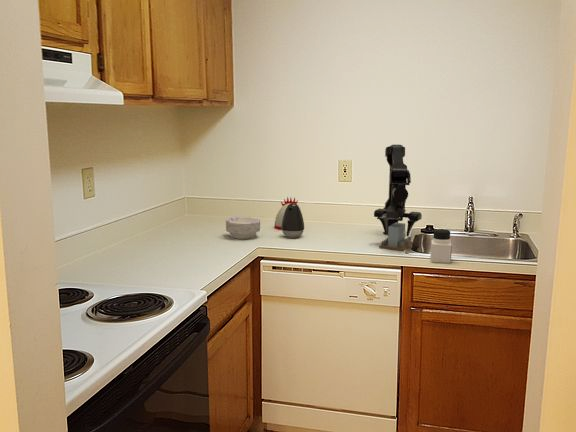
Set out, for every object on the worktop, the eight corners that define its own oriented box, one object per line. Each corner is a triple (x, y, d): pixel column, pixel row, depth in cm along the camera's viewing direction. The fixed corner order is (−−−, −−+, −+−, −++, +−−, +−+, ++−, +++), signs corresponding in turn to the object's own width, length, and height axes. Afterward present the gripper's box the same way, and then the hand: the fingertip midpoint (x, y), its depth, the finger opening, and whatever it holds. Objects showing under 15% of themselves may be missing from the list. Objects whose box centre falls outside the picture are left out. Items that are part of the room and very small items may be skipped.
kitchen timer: (303, 231, 275) (303, 199, 272) (274, 230, 275) (274, 199, 272) (303, 225, 289) (303, 194, 286) (275, 224, 289) (275, 194, 286)
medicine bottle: (450, 263, 218) (452, 231, 216) (431, 262, 220) (432, 231, 218) (449, 258, 225) (451, 228, 223) (430, 257, 227) (431, 227, 224)
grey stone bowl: (260, 240, 254) (260, 222, 253) (225, 240, 253) (225, 222, 252) (260, 233, 269) (260, 216, 268) (226, 233, 268) (226, 216, 267)
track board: (390, 241, 254) (390, 234, 253) (413, 244, 249) (413, 237, 248) (379, 248, 242) (379, 241, 241) (402, 251, 237) (403, 243, 236)
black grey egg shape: (277, 238, 259) (277, 204, 256) (286, 233, 269) (286, 200, 266) (299, 240, 255) (299, 205, 253) (307, 235, 265) (307, 202, 262)
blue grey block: (395, 241, 250) (396, 222, 249) (404, 242, 249) (405, 223, 247) (387, 245, 242) (388, 226, 240) (397, 246, 240) (398, 227, 238)
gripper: (369, 198, 239) (368, 236, 242) (414, 202, 230) (413, 241, 233) (379, 195, 249) (377, 231, 251) (422, 198, 240) (421, 236, 243)
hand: (396, 235), depth 244 cm, fingers open, 9 cm apart
